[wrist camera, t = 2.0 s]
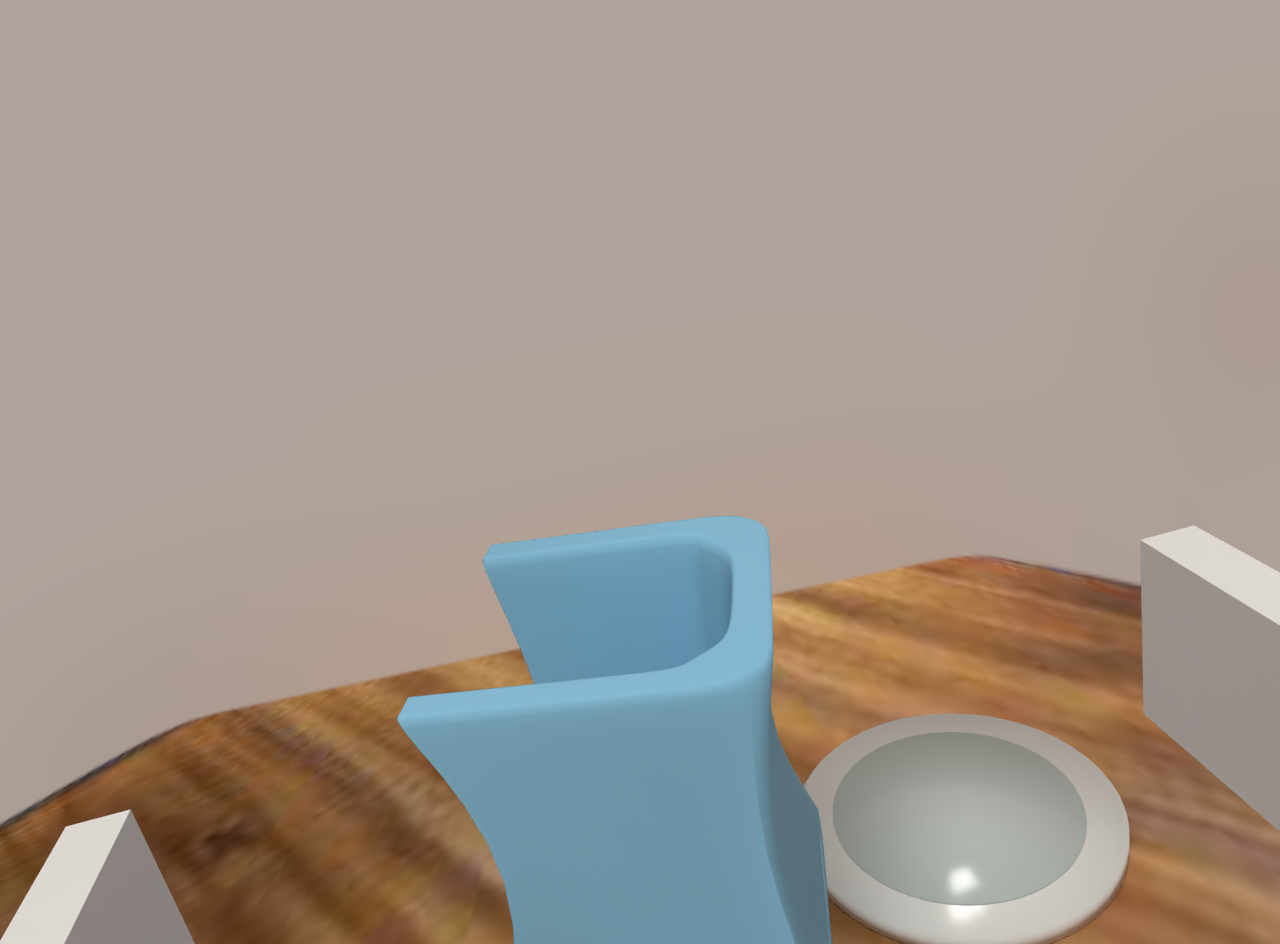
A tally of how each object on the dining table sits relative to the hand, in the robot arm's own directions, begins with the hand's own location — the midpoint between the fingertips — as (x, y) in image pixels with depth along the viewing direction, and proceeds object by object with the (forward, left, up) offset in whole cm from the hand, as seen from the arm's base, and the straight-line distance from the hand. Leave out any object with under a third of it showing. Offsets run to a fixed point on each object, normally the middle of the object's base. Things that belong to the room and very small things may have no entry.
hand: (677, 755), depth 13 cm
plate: (-12, +21, -23) cm, 33 cm away
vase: (-9, +5, -23) cm, 25 cm away
